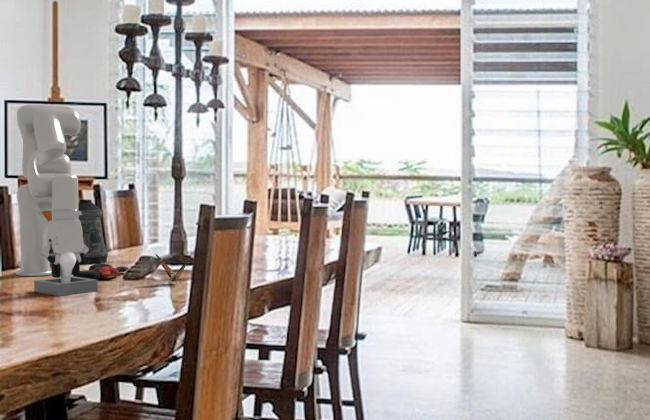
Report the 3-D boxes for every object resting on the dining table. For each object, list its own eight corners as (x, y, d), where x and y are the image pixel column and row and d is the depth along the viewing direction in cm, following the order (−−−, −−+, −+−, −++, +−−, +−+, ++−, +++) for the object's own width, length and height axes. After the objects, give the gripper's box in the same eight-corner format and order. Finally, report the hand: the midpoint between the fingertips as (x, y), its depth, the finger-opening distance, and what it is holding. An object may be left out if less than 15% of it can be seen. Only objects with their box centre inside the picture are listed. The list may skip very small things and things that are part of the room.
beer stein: (87, 265, 292) (87, 200, 291) (50, 262, 300) (49, 199, 299) (116, 261, 307) (116, 199, 306) (80, 258, 315) (79, 198, 314)
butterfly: (150, 286, 237) (150, 254, 236) (158, 282, 246) (158, 251, 246) (188, 287, 236) (188, 255, 236) (195, 282, 246) (195, 252, 245)
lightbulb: (56, 288, 222) (56, 250, 221) (53, 285, 227) (53, 248, 227) (78, 286, 225) (77, 249, 224) (74, 283, 230) (74, 247, 230)
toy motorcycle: (71, 286, 246) (119, 279, 246) (68, 271, 246) (117, 263, 246) (94, 278, 271) (138, 271, 271) (91, 264, 271) (135, 257, 271)
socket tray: (34, 291, 225) (34, 280, 225) (73, 286, 235) (72, 276, 235) (58, 296, 217) (58, 284, 217) (97, 290, 227) (97, 279, 227)
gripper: (83, 214, 234) (83, 272, 235) (31, 216, 221) (32, 278, 222) (97, 215, 230) (98, 274, 230) (45, 217, 216) (46, 280, 217)
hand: (65, 275), depth 226 cm, fingers closed on lightbulb, 5 cm apart
